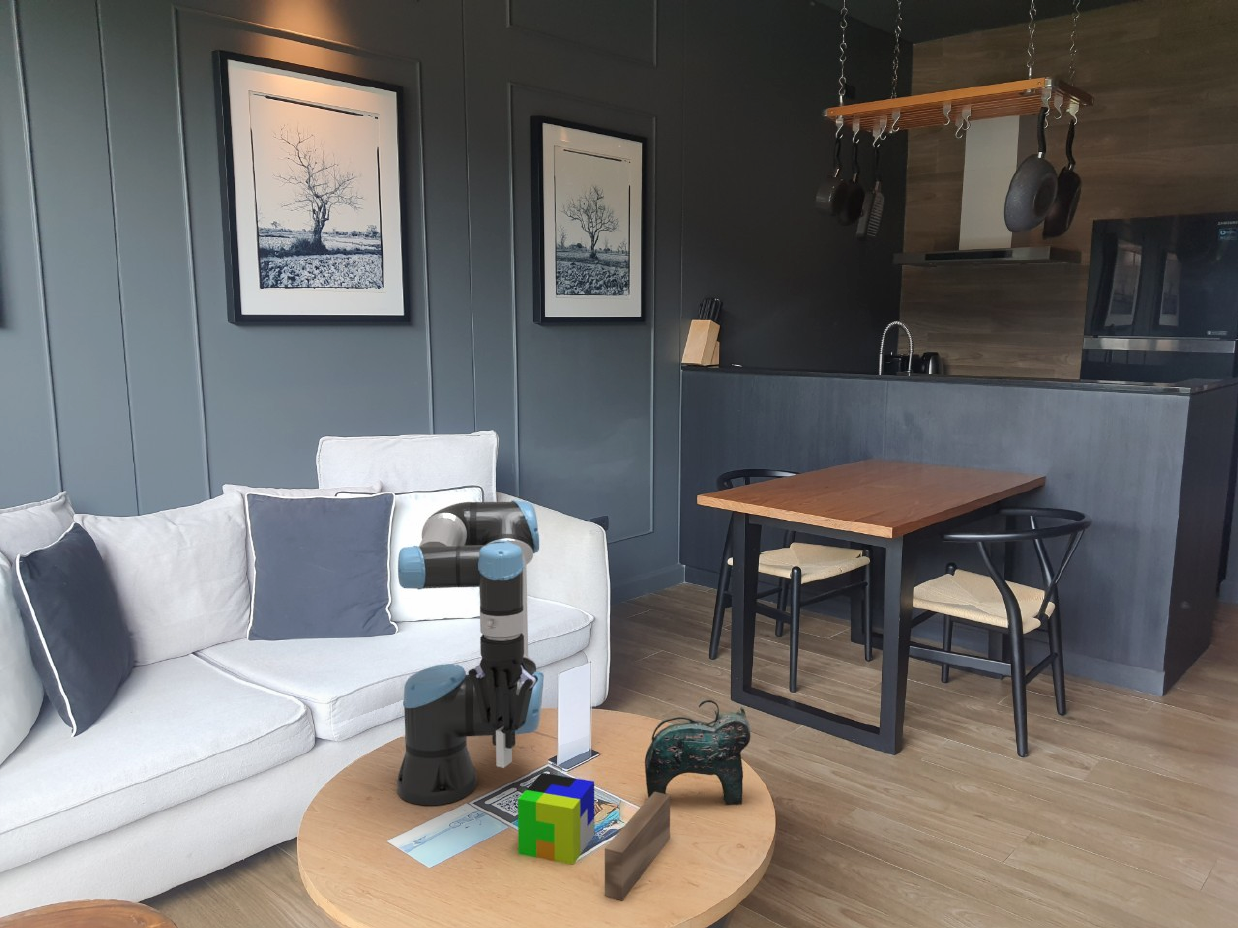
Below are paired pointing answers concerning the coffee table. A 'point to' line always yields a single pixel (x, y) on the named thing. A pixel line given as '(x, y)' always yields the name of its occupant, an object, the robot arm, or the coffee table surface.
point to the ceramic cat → (700, 752)
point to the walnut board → (636, 845)
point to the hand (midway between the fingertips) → (504, 763)
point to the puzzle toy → (556, 818)
